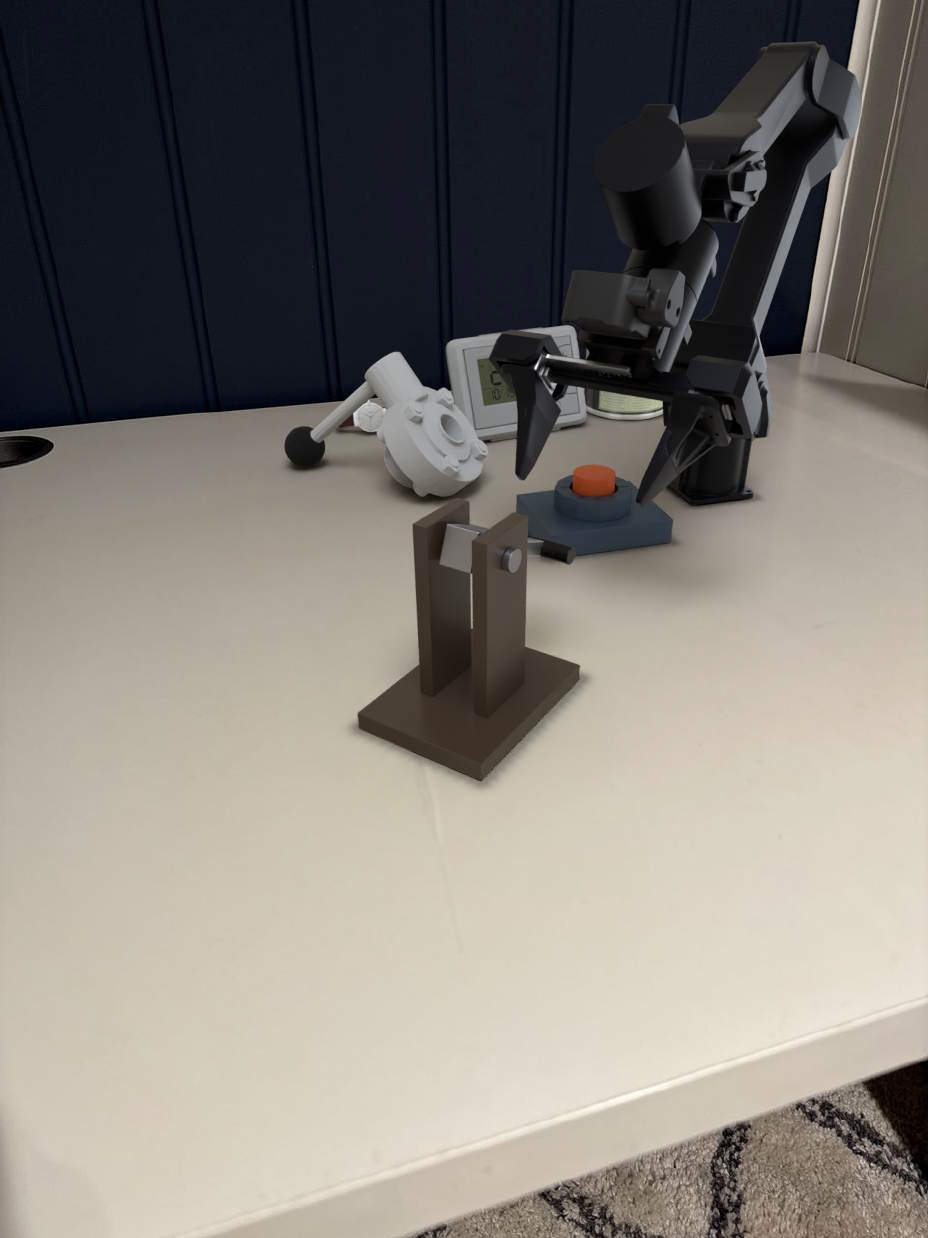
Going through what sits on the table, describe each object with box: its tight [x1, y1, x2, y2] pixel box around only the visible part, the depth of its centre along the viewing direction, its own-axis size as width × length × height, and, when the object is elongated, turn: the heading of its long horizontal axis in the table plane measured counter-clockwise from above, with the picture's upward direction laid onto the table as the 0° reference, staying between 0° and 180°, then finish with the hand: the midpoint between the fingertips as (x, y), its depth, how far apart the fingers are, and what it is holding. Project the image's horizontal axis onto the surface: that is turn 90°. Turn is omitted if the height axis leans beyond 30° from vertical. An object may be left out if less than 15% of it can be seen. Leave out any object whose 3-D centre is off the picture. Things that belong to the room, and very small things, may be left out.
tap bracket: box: [357, 497, 581, 781], centre depth 54 cm, size 12×9×13 cm
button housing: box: [515, 474, 674, 557], centre depth 78 cm, size 11×9×4 cm
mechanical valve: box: [283, 351, 489, 498], centre depth 89 cm, size 10×18×15 cm
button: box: [572, 464, 617, 497], centre depth 77 cm, size 4×4×2 cm
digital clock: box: [445, 324, 588, 443], centre depth 100 cm, size 16×9×11 cm, turn 103°
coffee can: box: [584, 349, 663, 421], centre depth 105 cm, size 10×10×14 cm
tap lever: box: [439, 523, 576, 575], centre depth 55 cm, size 10×5×2 cm, turn 146°
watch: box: [337, 399, 386, 433], centre depth 103 cm, size 8×5×4 cm, turn 104°
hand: (577, 491), depth 61 cm, fingers open, 9 cm apart
